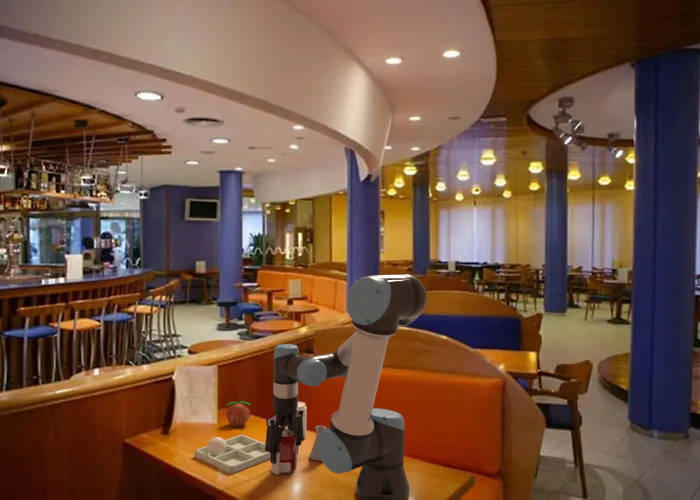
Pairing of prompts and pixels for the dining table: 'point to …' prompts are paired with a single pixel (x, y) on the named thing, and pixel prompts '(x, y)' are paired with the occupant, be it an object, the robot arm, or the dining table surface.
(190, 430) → the dining table surface
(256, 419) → the dining table surface
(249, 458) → the caddy
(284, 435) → the soda can
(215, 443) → the ceramic egg
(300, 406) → the beverage can
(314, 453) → the flask
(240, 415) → the fruit
